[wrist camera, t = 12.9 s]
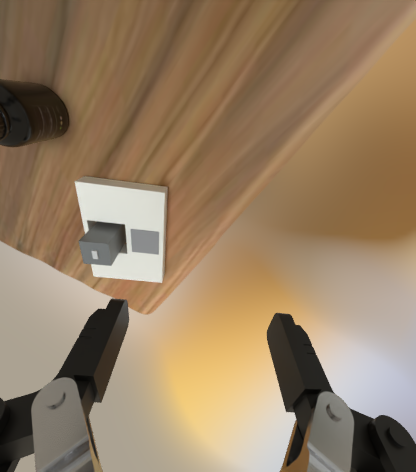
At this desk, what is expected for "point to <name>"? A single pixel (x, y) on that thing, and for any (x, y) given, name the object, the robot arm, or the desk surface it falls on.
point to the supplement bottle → (29, 114)
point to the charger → (102, 243)
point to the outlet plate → (128, 224)
